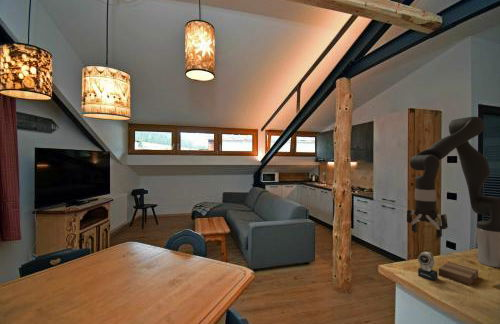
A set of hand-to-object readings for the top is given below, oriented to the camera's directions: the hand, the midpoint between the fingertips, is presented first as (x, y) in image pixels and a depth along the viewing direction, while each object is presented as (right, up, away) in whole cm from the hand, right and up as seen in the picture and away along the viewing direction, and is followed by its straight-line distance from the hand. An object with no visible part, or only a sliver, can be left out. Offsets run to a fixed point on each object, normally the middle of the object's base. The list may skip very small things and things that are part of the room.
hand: (426, 235), depth 96 cm
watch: (+1, -19, 0) cm, 19 cm away
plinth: (+14, -19, 0) cm, 24 cm away
